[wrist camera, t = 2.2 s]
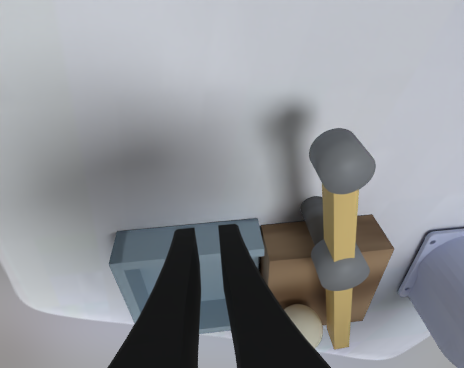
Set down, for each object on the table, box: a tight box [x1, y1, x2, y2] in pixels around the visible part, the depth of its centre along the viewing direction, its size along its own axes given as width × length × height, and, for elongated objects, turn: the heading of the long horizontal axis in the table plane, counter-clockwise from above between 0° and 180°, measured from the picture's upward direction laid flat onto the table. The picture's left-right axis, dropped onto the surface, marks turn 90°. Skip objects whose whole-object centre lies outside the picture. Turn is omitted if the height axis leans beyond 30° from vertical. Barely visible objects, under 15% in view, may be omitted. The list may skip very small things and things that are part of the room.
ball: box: [284, 304, 323, 349], centre depth 25 cm, size 4×4×4 cm
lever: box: [309, 128, 376, 350], centre depth 20 cm, size 20×3×2 cm, turn 12°
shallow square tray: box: [109, 218, 264, 334], centre depth 26 cm, size 11×11×3 cm
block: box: [259, 197, 394, 325], centre depth 26 cm, size 12×9×4 cm
